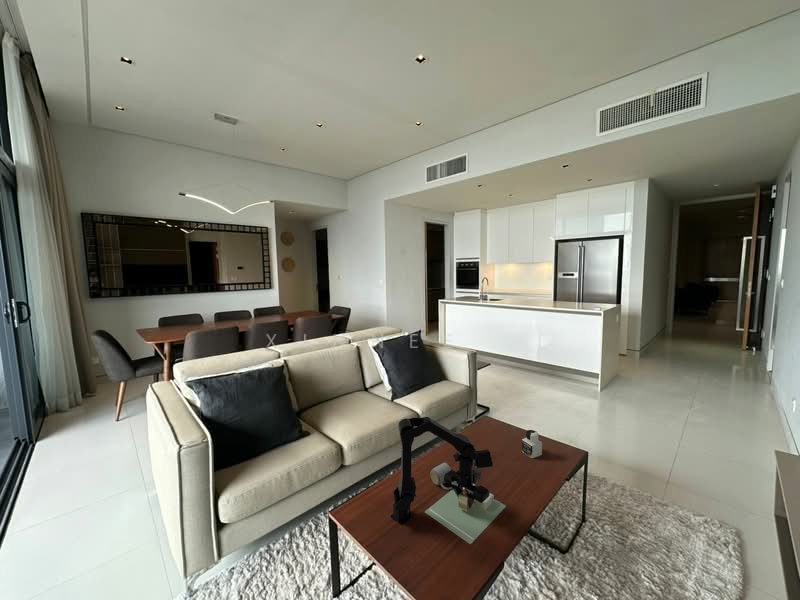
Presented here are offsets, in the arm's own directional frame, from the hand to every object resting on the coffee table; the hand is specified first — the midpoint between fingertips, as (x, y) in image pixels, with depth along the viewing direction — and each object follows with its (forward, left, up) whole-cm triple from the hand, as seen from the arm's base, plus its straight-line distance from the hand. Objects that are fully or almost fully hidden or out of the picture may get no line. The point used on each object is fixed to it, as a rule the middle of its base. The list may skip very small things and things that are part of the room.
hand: (465, 504), depth 134 cm
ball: (+6, 0, 0) cm, 6 cm away
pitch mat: (0, 0, -3) cm, 3 cm away
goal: (+8, 0, -2) cm, 8 cm away
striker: (0, 0, -1) cm, 1 cm away
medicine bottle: (+57, -2, -3) cm, 57 cm away
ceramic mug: (+7, +17, -3) cm, 18 cm away
